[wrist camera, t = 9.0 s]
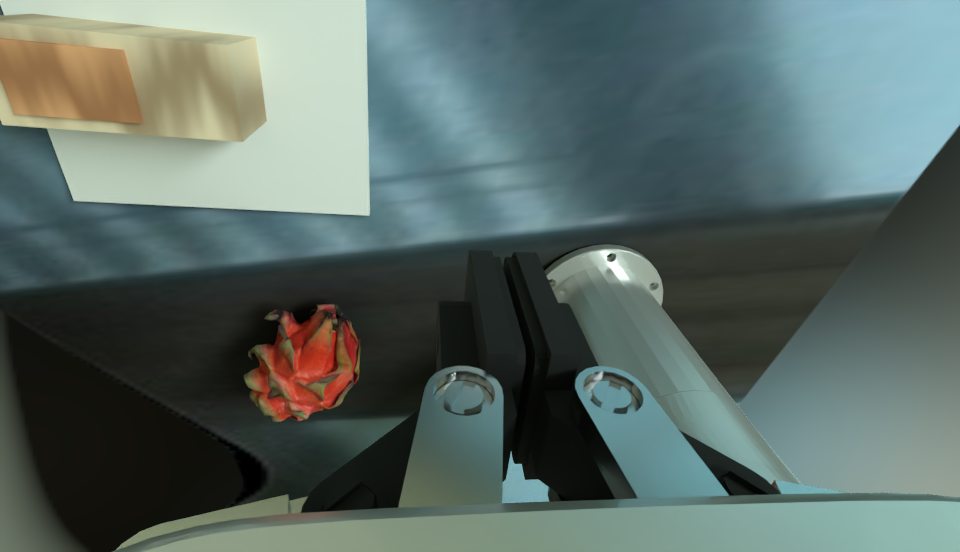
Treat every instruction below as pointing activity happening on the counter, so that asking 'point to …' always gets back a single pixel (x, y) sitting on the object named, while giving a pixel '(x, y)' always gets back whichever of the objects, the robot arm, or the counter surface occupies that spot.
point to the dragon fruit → (305, 364)
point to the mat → (272, 147)
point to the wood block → (128, 78)
